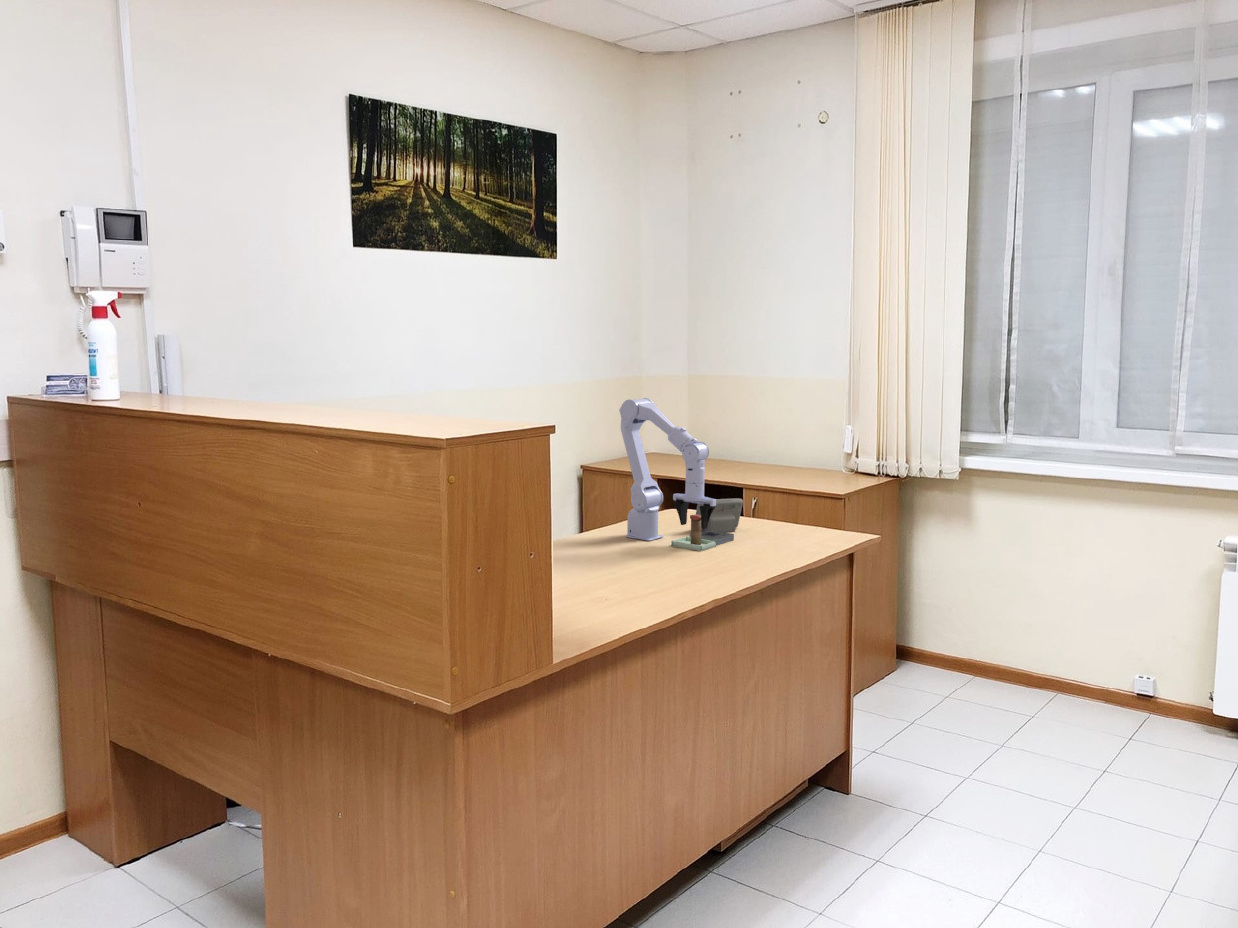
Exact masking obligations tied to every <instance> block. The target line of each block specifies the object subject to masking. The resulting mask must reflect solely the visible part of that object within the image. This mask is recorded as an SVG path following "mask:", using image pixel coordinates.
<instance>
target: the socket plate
mask: <svg viewBox="0 0 1238 928" xmlns="http://www.w3.org/2000/svg"><path fill="white" fill-rule="evenodd" d="M689 537H691V533H690V534H689ZM701 539H703V540H709V541H715V542H716V547H717V546H720V545H723V544H727V543H729V542H731V541H735V534H734V533H732V532H719V531H713V530H701Z"/></svg>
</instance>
